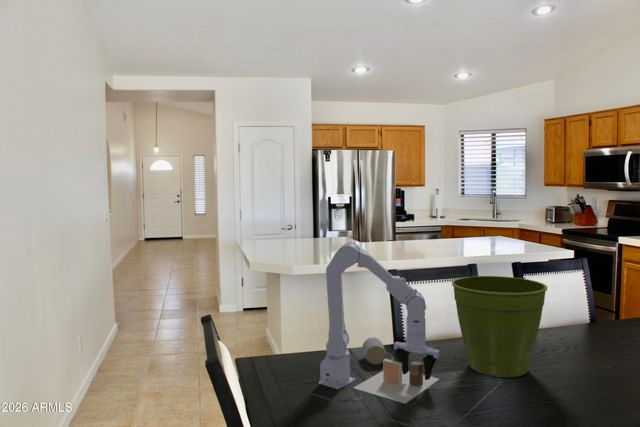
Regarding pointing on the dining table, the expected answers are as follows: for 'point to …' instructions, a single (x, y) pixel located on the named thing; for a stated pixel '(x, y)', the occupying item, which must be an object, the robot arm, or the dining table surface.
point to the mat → (394, 387)
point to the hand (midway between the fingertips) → (416, 376)
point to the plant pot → (499, 322)
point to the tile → (392, 372)
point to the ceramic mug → (375, 351)
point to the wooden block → (416, 373)
